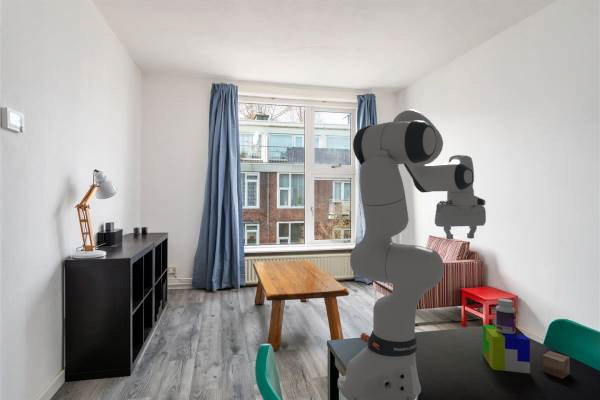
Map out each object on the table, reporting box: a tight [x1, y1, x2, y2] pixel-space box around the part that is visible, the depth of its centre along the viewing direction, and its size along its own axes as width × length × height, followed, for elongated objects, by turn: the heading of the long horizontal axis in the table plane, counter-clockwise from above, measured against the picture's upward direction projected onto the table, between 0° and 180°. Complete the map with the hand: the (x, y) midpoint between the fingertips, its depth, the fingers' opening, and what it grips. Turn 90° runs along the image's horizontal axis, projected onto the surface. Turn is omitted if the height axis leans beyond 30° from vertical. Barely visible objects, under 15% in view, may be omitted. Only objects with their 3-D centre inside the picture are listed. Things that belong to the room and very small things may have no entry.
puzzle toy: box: [482, 324, 531, 374], centre depth 107 cm, size 10×10×10 cm
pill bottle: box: [495, 298, 517, 334], centre depth 107 cm, size 5×5×10 cm
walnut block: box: [542, 350, 571, 380], centre depth 101 cm, size 5×5×5 cm
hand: (460, 238), depth 124 cm, fingers open, 8 cm apart
